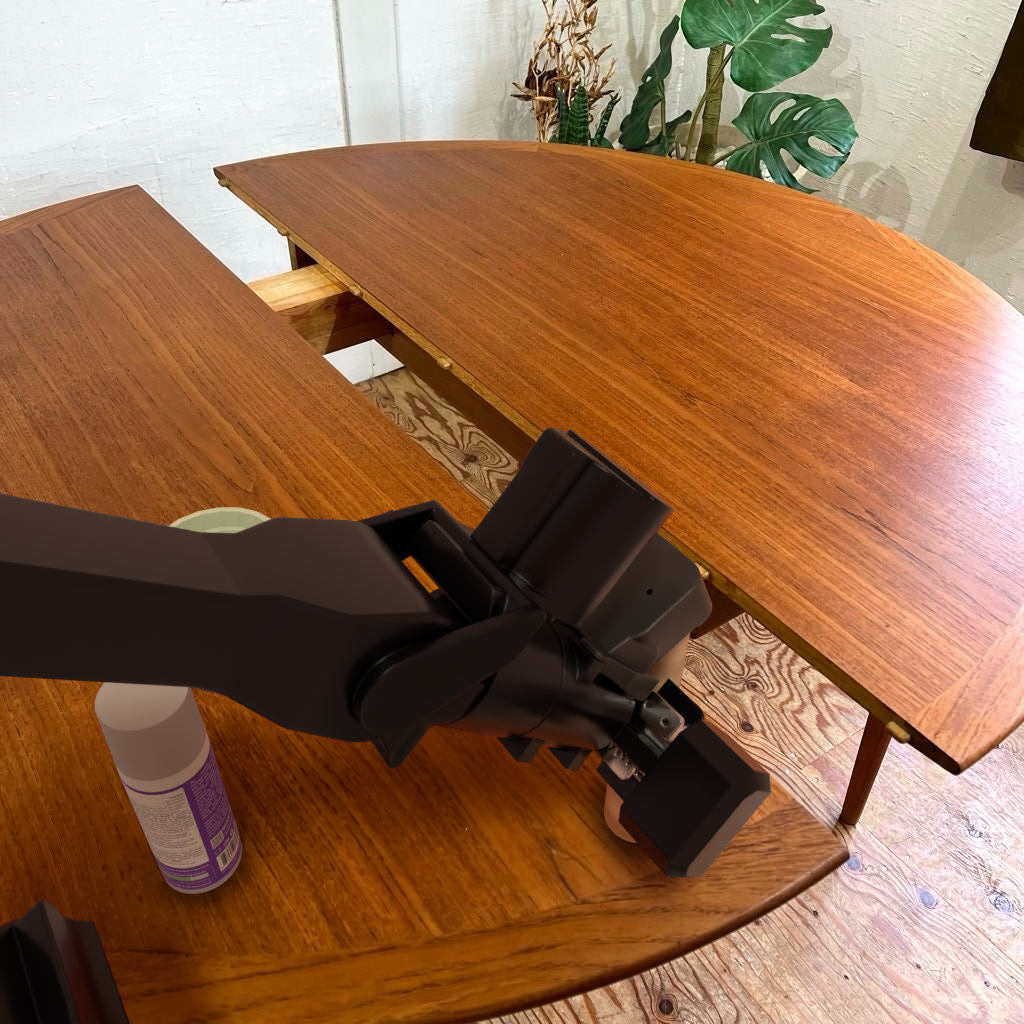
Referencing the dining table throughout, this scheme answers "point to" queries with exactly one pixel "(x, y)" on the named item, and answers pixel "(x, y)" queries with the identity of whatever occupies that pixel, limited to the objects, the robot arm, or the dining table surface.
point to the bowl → (220, 520)
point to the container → (172, 782)
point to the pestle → (663, 670)
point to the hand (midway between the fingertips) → (669, 716)
